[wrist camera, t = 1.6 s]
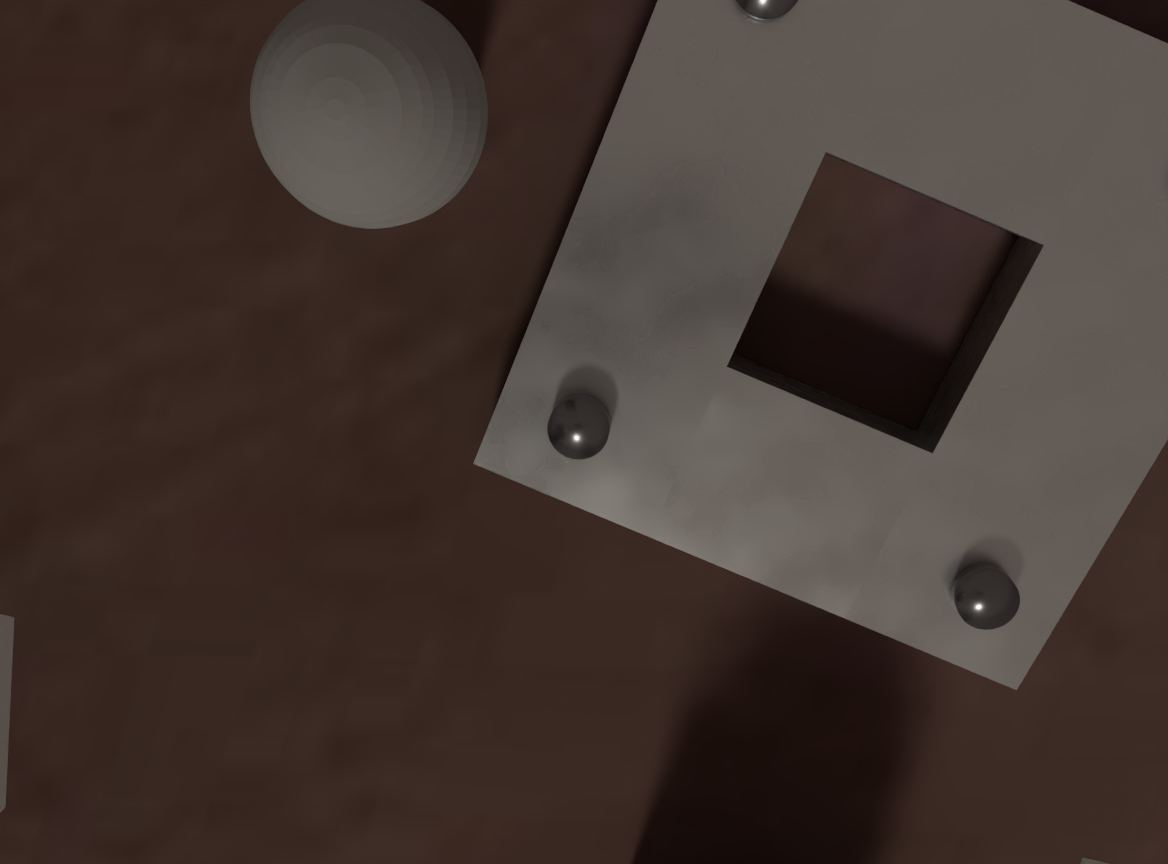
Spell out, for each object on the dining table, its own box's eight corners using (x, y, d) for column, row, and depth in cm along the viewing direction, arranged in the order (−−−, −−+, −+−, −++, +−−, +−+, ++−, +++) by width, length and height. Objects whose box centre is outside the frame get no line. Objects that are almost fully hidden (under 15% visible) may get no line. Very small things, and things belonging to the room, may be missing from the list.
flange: (487, 441, 35) (468, 471, 32) (716, -131, 30) (718, -159, 27) (995, 653, 36) (1024, 703, 33) (1307, 124, 31) (1375, 125, 28)
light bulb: (538, 195, 33) (477, 227, 24) (364, 213, 34) (236, 250, 24) (517, 4, 32) (443, -45, 22) (335, 26, 32) (187, -12, 23)
